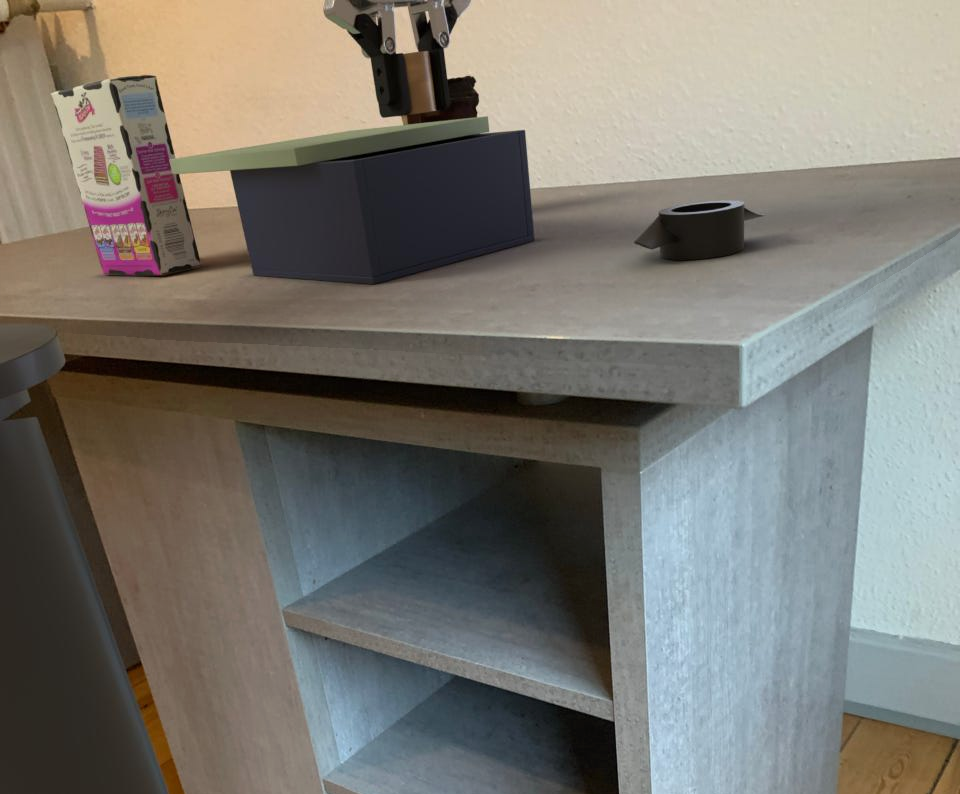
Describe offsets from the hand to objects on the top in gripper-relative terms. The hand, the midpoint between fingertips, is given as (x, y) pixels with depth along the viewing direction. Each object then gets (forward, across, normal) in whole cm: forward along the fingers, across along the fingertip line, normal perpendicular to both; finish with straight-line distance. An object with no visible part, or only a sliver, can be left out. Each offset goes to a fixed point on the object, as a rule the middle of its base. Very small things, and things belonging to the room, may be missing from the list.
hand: (415, 110), depth 76 cm
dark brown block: (+11, -18, -18) cm, 28 cm away
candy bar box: (+11, +10, -32) cm, 35 cm away
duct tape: (+11, -6, +22) cm, 26 cm away
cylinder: (0, 0, 0) cm, 0 cm away
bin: (+11, 0, -6) cm, 12 cm away
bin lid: (+3, 0, -12) cm, 13 cm away
